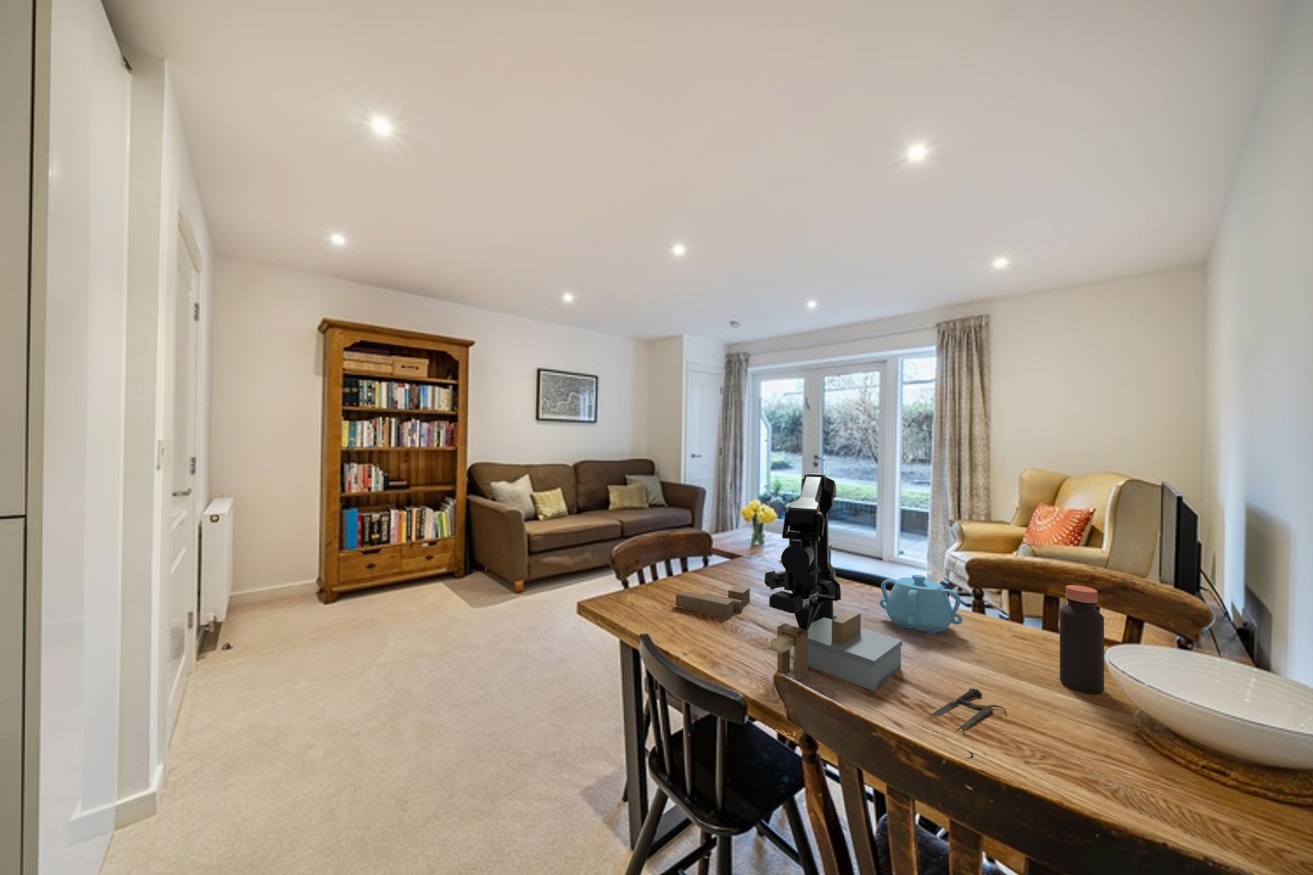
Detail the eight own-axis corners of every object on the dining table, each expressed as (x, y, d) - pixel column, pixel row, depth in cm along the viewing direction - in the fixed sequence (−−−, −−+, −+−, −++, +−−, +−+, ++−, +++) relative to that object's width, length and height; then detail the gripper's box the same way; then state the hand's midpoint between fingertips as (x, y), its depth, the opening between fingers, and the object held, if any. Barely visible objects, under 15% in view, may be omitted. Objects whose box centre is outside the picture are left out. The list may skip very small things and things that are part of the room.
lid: (824, 626, 119) (824, 599, 119) (902, 650, 105) (902, 619, 105) (792, 642, 109) (792, 613, 109) (874, 671, 95) (874, 638, 95)
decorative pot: (933, 615, 137) (933, 567, 137) (968, 638, 121) (967, 584, 121) (876, 614, 138) (875, 567, 138) (902, 637, 122) (902, 583, 122)
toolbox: (824, 642, 118) (824, 603, 118) (900, 668, 105) (900, 624, 105) (776, 670, 104) (776, 626, 104) (858, 704, 91) (858, 653, 91)
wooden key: (796, 636, 106) (796, 627, 106) (806, 639, 104) (806, 630, 104) (770, 649, 99) (770, 640, 99) (780, 653, 98) (780, 643, 98)
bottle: (1069, 675, 102) (1069, 581, 102) (1110, 690, 96) (1110, 590, 96) (1053, 682, 99) (1052, 586, 99) (1094, 698, 93) (1094, 595, 93)
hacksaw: (972, 692, 96) (972, 684, 96) (1033, 717, 87) (1033, 709, 87) (902, 731, 83) (902, 722, 83) (966, 765, 75) (966, 756, 75)
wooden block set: (729, 601, 133) (674, 590, 143) (729, 621, 133) (674, 609, 143) (753, 585, 147) (701, 576, 157) (753, 604, 147) (701, 593, 157)
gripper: (793, 549, 118) (794, 612, 118) (748, 563, 106) (748, 633, 106) (836, 558, 110) (837, 625, 110) (793, 573, 97) (793, 650, 97)
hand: (803, 632), depth 106 cm, fingers closed
